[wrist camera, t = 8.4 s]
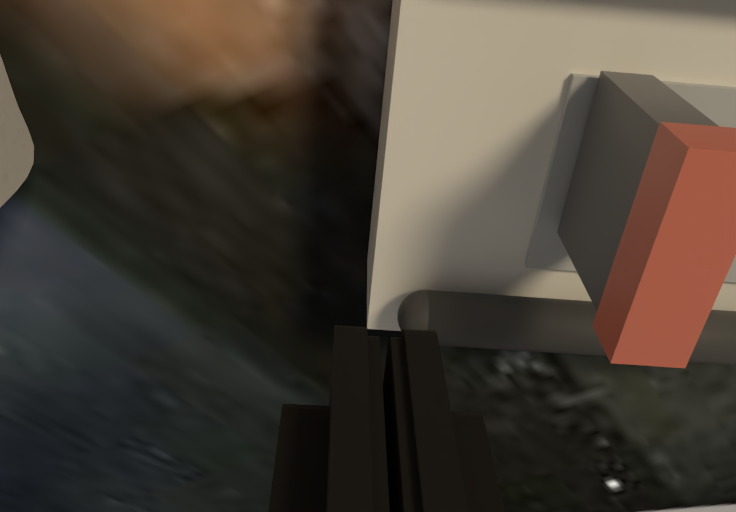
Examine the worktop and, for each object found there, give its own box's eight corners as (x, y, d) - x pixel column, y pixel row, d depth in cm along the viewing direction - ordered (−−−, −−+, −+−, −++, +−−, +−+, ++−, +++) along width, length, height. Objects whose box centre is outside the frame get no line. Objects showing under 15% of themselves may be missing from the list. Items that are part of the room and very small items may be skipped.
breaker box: (989, -94, 22) (1217, -75, 16) (791, 291, 31) (894, 396, 25) (407, -152, 21) (422, -154, 15) (367, 261, 30) (366, 362, 24)
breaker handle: (661, 69, 20) (780, 154, 14) (606, 241, 23) (685, 367, 17) (596, 63, 19) (688, 147, 14) (550, 236, 23) (610, 363, 17)
